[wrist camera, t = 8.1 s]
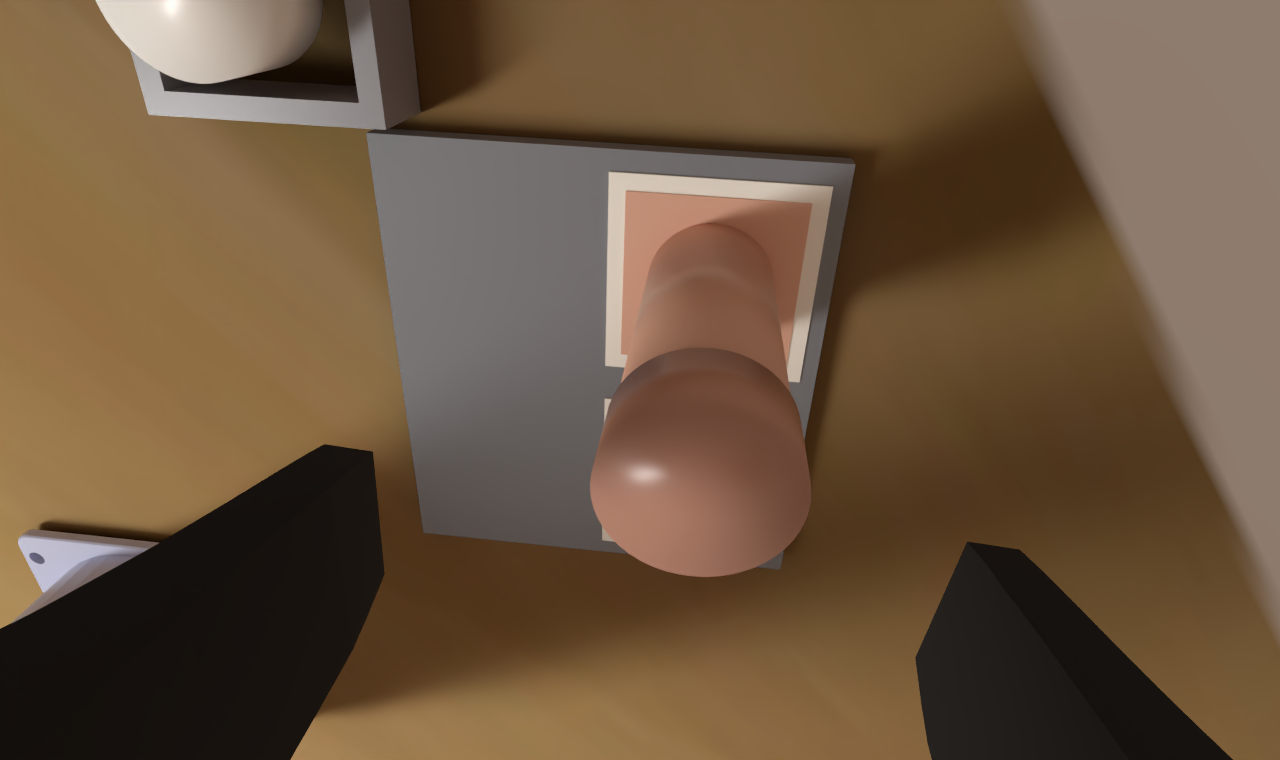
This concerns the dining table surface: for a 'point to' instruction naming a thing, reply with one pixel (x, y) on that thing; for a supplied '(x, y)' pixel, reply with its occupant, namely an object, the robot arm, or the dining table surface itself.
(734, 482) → the tan rounded cylinder
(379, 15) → the button housing
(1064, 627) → the robot arm
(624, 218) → the picture board
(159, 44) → the button
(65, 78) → the dining table surface
